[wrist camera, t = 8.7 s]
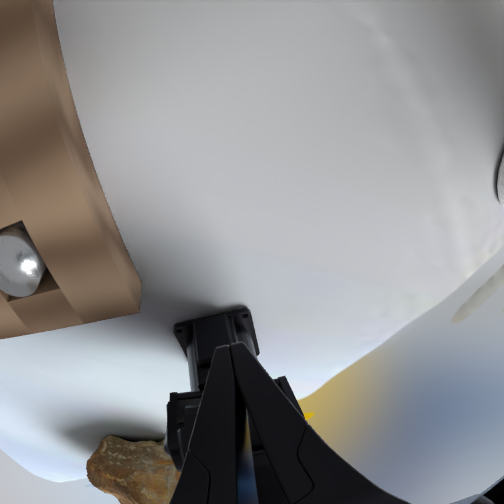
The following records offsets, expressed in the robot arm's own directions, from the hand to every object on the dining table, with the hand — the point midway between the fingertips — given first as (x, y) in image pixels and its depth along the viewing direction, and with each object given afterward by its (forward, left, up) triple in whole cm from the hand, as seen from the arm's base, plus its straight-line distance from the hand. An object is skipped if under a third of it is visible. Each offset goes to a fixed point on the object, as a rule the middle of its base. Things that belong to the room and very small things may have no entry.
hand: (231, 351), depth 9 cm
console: (+6, +13, -12) cm, 19 cm away
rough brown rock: (-38, +21, -12) cm, 45 cm away
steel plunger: (0, +13, -12) cm, 17 cm away
